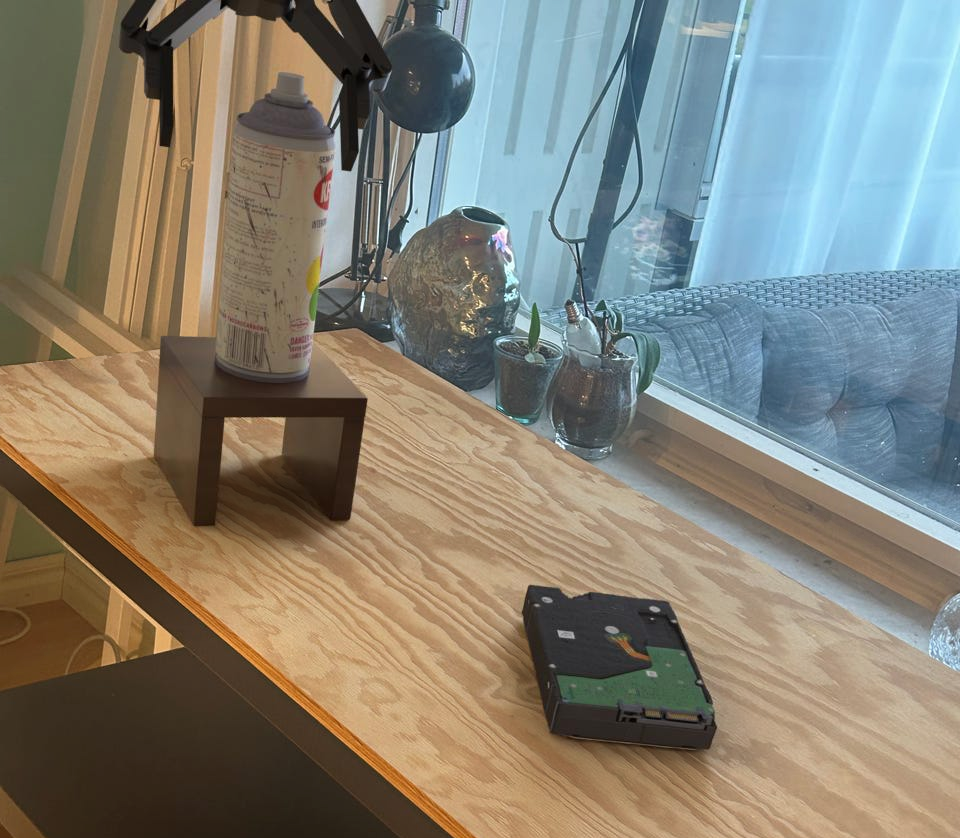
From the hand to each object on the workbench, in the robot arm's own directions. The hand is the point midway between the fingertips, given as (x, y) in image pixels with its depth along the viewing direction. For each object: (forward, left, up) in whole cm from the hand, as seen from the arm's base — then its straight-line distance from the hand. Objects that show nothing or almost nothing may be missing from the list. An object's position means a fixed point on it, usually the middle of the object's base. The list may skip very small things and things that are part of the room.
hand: (260, 149), depth 98 cm
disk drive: (+40, +13, -23) cm, 48 cm away
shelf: (+10, -2, -23) cm, 25 cm away
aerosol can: (+10, -2, -13) cm, 17 cm away
